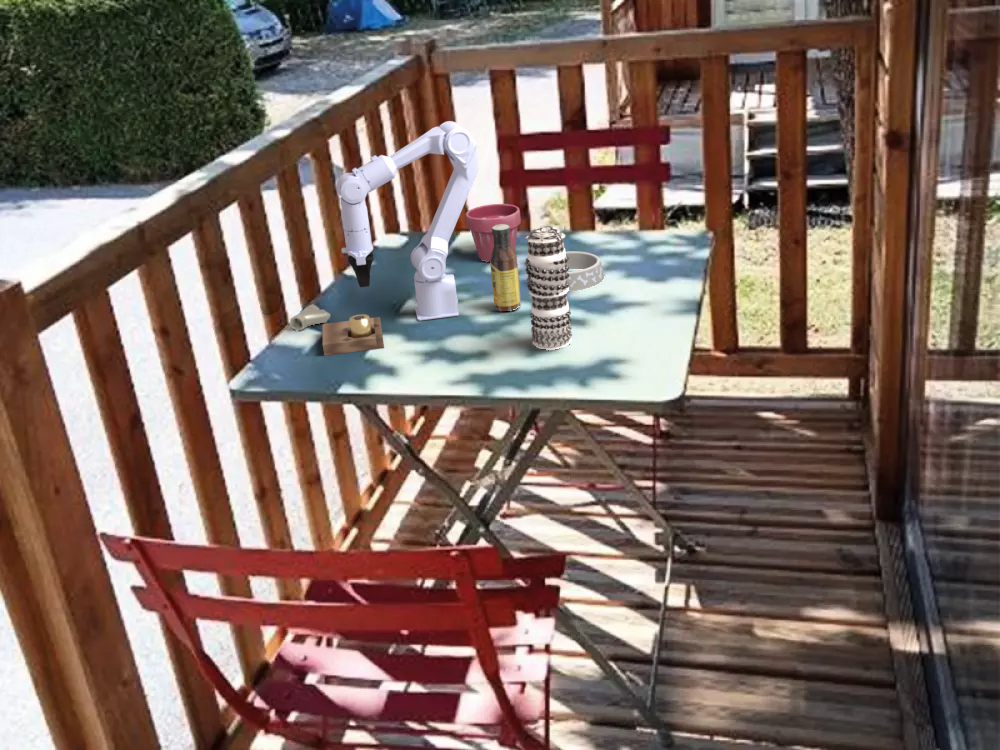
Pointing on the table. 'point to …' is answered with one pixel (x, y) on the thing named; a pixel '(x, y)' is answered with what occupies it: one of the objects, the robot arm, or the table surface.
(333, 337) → the walnut jig plate
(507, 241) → the sauce bottle
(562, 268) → the decorative candle
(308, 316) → the pipe fitting
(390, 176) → the robot arm
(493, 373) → the table surface
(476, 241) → the plant pot
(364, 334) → the brass bushing
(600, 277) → the dog bowl
